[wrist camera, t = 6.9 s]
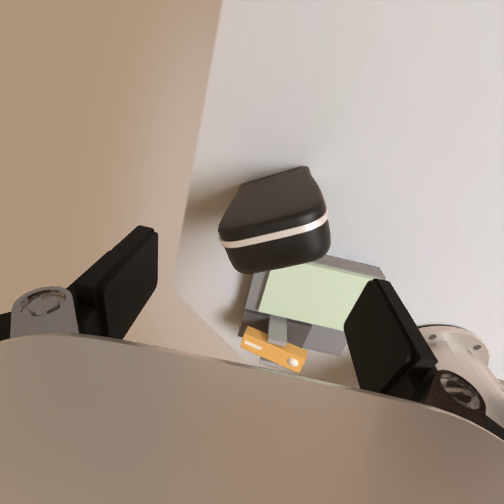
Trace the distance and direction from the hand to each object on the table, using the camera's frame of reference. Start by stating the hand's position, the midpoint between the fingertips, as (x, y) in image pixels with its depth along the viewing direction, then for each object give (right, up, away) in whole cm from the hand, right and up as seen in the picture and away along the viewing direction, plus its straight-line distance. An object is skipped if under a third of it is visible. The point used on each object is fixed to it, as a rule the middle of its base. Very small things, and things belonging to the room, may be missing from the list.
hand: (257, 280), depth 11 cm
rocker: (+2, -9, +17) cm, 20 cm away
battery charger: (+2, +7, +13) cm, 15 cm away
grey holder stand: (+6, -4, +19) cm, 20 cm away
